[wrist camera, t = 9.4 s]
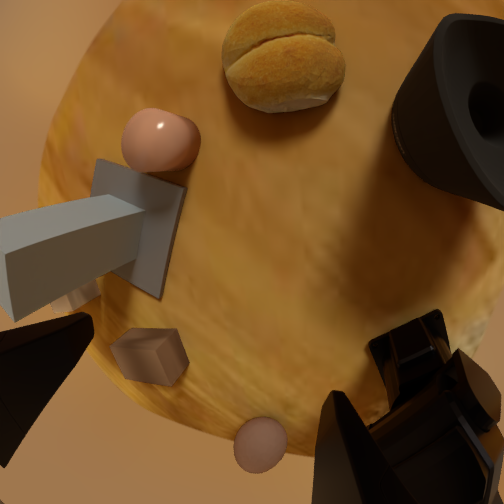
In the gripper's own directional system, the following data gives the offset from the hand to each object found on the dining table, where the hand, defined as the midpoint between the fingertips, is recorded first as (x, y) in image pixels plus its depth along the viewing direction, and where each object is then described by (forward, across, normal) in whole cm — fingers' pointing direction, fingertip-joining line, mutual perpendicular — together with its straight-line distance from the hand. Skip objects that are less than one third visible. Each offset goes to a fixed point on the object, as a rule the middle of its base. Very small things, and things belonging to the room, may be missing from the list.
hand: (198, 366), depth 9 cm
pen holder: (+12, -11, -12) cm, 20 cm away
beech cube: (+14, +19, +9) cm, 25 cm away
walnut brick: (+13, +8, +13) cm, 20 cm away
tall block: (+13, +12, +1) cm, 18 cm away
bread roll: (+14, +1, -14) cm, 20 cm away
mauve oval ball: (+12, -5, +18) cm, 22 cm away
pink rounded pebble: (+14, +8, -7) cm, 17 cm away
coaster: (+14, +12, +1) cm, 18 cm away
